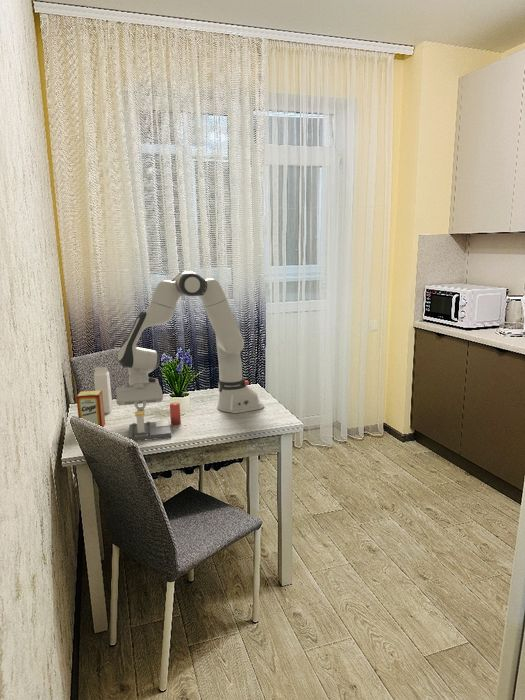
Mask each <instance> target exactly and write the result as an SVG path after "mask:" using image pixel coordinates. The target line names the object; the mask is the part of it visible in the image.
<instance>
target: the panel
mask: <svg viewBox="0 0 525 700" xmlns="http://www.w3.org/2000/svg"><path fill="white" fill-rule="evenodd" d="M144 429H147V435H141V436H136V430H137V422H133V423H130V424H129V426H128V440H129V439H132V440H134V441H133V442H139V441H138V440H142V441H146V440H145V439H152V440H155V439H154V438H161V439H166V438H165V437H170V438H172V431H171V430H172V429H171V423H170V420H163V421H162V420H160V421H159V420H158V421H146V422H144Z"/></svg>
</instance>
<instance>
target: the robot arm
mask: <svg viewBox="0 0 525 700" xmlns="http://www.w3.org/2000/svg"><path fill="white" fill-rule="evenodd" d="M182 296H187V297H199V298H200V300H201V302H202V305H203V308H204V311H205V313H206V316H207V317H208V320H209V323H210V324H211V327H212V329H213V332H214V334H215V344H216V353H217V354H216V355H217V361H218V373H219V374H218V375H219V376H218V377H219V378H218V383H217V384H218V385H217V386H218V392H219V393H218V394H219V395H218V402H217V406H216V409H217V410H219V411H220V412H226V413H231V414H240V413H246V412H252V411H257V410H262V409H263V408H264V403H263V402H262V401H261V400H260V399H259V396H258V394H257V392H256V391H255V390H254V389H252V388H250V387H249V384H250V383H249V381H248V380H246V379H245V378H243V362H242V358H241V352H242V351H243V349H244V347H245V339H244V338H243V335H242V332H241V330H240V327H239V325H238V324H237V321H236V319H235V317H234V315H233V312H232V310H231V307H230V304H229V302H228V301H229V300H228V298H227V296H226V294H225V292H224V290H223V287H222V286H221V284H220V282H219V281H218V280H217V279H215V278H206V279H204V278H203V277H202V276H201V275H200V274H198V273H196V272H194V271H191V270H184V271H182V272H180V273H178V274H177V275H176V276H175V277H174V278H173V279H172V280H167V279H164V280H161V281H159V283H158V284H157V286H156V288H155V289H154V292H153V294H152V296H151V300H150V303H149V305H148V307H147V308H145V310H144V311H140V313H138V316H137V317H136V319H135V321H134V323H133V324H132V326H131V329H130V330H129V333H128V335H127V336H126V339H125V341H124V343H122V346H120V348H119V351H118V353H117V358H116V359H117V361H118V363H119V364H120V365H121V367H122V368H127V371H128V375H129V376H128V384H125V385H119V386H117V387H116V388H115V395H116V404H117V405H118V406H128V405H134V407H135V408H136V410H137V411H144V412H145V408H146V406H147V404H149V403H161V402H162V401H163V400H164V396H163V395H164V394H163V390H162V387H161V385H160V383H159V382H160V381H159V379H158V378H154V377H150V376H149V374H150V373H152V372H154V371H155V370H157V368H158V367H160V366H159V365H160V355H159V353H158V351H157V350H154V349H150V348H144V347H139V346H137V344H138V342H139V340H140V337H141V336H142V333H143V331H144V330H146V329H147V328H149V327H153V326H159V325H163V324H166V323H168V322H169V321H171V319H172V318H173V315H174V313H175V310H176V307H177V302H178V300H179V299H180V297H182ZM141 404H142V406H138V405H141Z"/></svg>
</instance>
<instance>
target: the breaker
mask: <svg viewBox="0 0 525 700" xmlns="http://www.w3.org/2000/svg"><path fill="white" fill-rule="evenodd" d="M134 416H136V418H135V419H136V424H137V430H136V436H141V435H147V429H144V423H145V419H144V418H145V417H144V416H145V410H144V411H135V413H134Z"/></svg>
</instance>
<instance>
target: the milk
mask: <svg viewBox="0 0 525 700" xmlns="http://www.w3.org/2000/svg"><path fill="white" fill-rule="evenodd" d="M93 382H94V391H102V394H103V405H104V414H111V412H112V411H113V399H112V388H111V378H110V371H109V369H108V367H107V366H102V367H101V366H100V367H98V366H96V367H94V374H93Z"/></svg>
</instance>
